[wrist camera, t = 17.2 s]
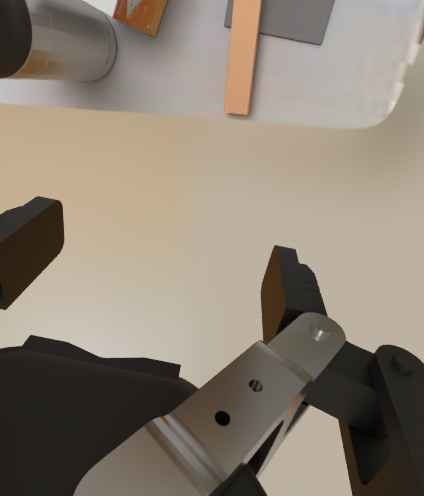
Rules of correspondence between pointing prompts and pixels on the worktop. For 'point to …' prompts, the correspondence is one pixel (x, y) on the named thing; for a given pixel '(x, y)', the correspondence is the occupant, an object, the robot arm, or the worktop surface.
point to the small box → (133, 12)
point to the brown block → (242, 55)
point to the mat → (291, 18)
